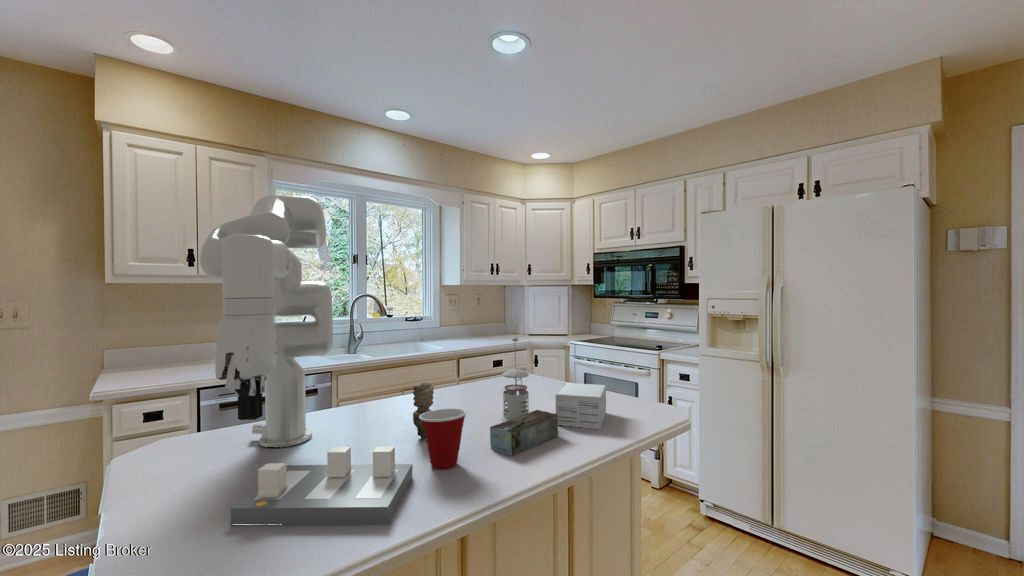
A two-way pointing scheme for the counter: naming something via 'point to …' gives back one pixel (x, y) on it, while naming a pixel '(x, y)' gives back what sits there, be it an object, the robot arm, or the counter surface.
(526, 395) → the french press
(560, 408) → the supplement box
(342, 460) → the block
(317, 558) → the counter surface
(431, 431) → the plastic cup
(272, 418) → the robot arm
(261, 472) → the breaker left
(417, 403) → the light bulb
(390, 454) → the block
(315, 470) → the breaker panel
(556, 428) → the beverage carton
